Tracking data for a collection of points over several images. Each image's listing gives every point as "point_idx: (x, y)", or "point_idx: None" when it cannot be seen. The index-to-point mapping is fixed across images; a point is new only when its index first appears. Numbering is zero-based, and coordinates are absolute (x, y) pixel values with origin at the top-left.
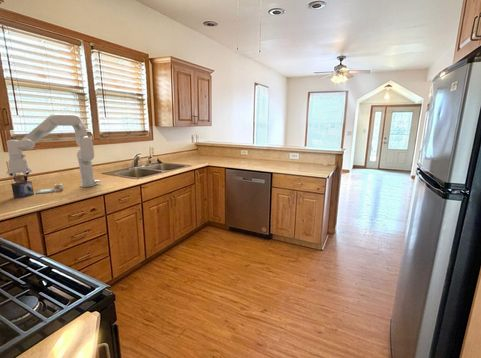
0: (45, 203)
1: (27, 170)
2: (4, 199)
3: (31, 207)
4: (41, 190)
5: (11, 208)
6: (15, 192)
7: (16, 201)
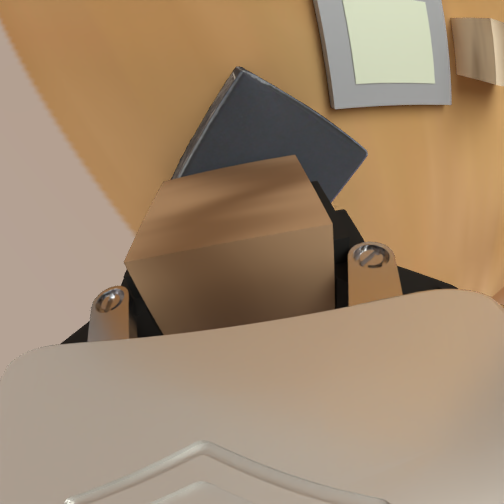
0: None
1: (467, 305)
2: (129, 228)
3: None
4: (355, 25)
5: None
6: None
7: None
